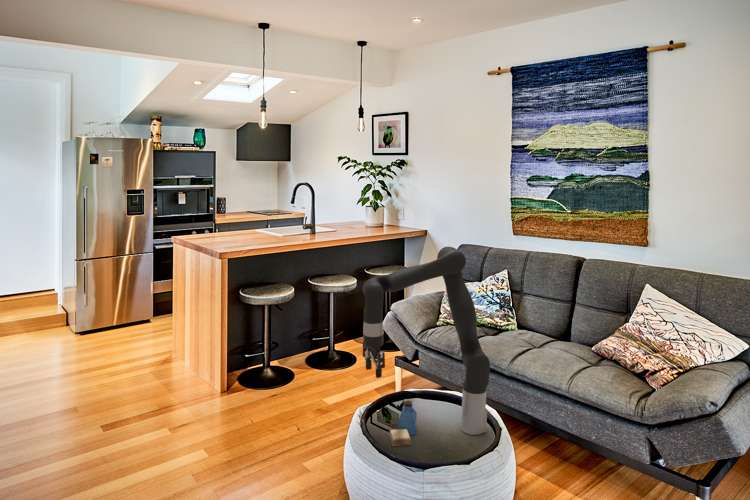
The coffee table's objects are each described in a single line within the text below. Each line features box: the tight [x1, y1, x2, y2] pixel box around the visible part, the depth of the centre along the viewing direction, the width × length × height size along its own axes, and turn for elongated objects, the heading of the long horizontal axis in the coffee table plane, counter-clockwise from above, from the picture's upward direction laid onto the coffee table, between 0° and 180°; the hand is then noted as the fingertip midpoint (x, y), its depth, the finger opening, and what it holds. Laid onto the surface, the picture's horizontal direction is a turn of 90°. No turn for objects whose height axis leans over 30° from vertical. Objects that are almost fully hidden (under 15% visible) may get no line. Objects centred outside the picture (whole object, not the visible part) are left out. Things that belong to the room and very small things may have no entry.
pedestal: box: [388, 428, 412, 447], centre depth 208 cm, size 7×7×3 cm
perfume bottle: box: [398, 400, 418, 436], centre depth 215 cm, size 6×6×12 cm
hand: (373, 373), depth 207 cm, fingers open, 8 cm apart
